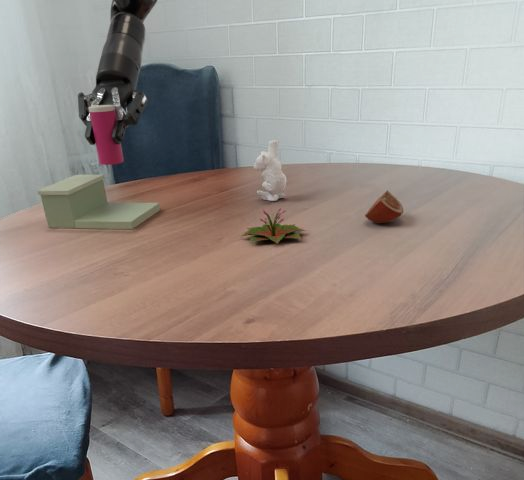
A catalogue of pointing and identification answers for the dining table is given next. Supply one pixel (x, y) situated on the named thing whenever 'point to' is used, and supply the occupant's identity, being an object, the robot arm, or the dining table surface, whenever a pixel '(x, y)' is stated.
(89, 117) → the robot arm
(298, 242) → the dining table surface
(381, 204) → the fruit slice
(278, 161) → the white bunny figurine
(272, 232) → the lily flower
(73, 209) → the step shelf
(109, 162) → the lidded tumbler cup
